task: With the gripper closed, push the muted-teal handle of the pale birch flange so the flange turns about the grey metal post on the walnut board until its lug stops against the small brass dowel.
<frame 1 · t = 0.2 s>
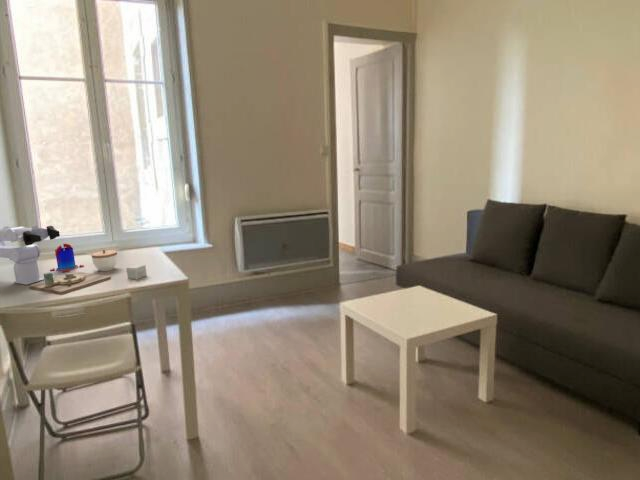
hand: (49, 235, 183), 21 cm above the table, tool horizontal, fingers open, 7 cm apart
lidded jar: (106, 269, 212), on the table
small box: (137, 277, 197), on the table
post board: (70, 283, 191), on the table
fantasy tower: (67, 269, 216), on the table
flange: (64, 275, 189), point 4 cm above the table, hinge at 0.0°
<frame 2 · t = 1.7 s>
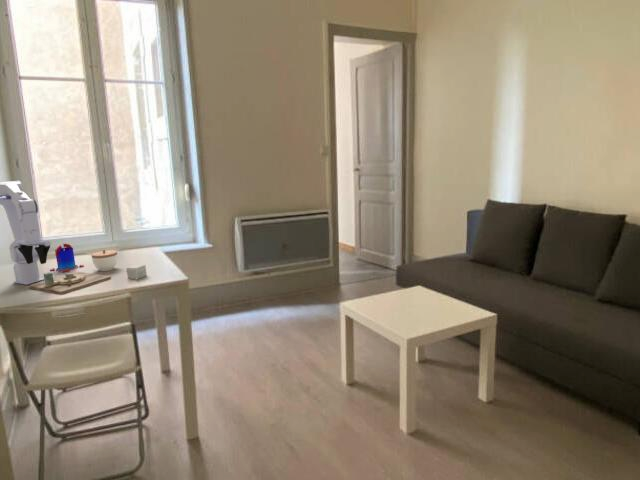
hand: (36, 263, 184), 10 cm above the table, tool pointing down, fingers open, 6 cm apart
nothing on the table moved.
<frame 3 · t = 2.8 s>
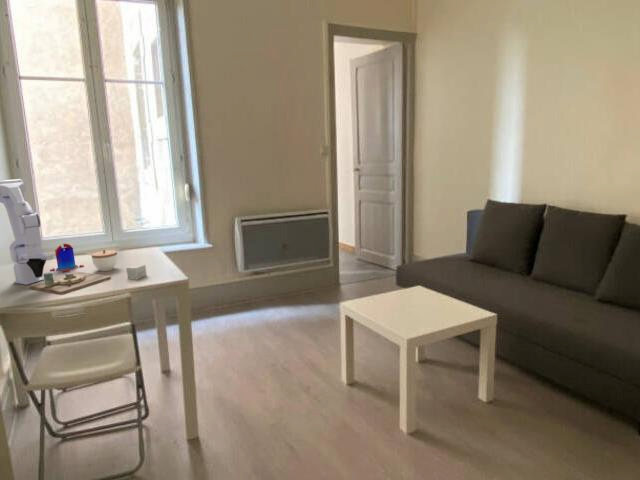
hand: (39, 276, 185), 5 cm above the table, tool pointing down, fingers closed
nothing on the table moved.
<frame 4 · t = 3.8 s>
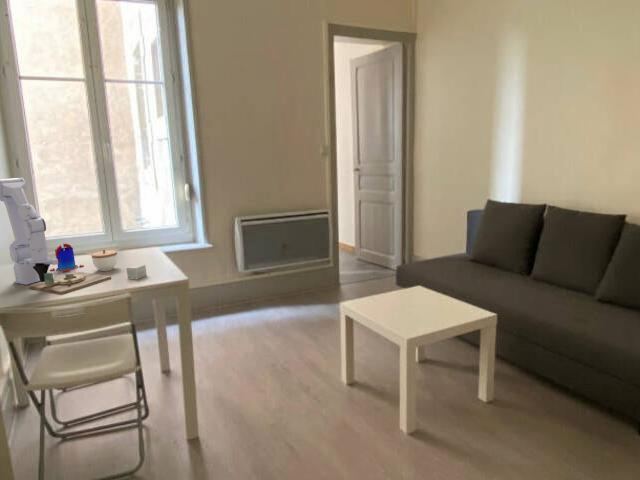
hand: (44, 281, 185), 3 cm above the table, tool pointing down, fingers closed, pressing on flange
flange: (64, 275, 189), point 4 cm above the table, hinge at 0.8°, touching gripper
everything else where it was.
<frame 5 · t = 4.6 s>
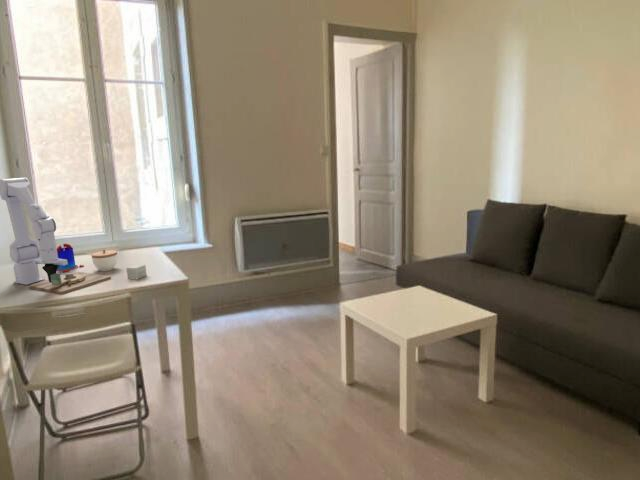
hand: (53, 281, 184), 3 cm above the table, tool pointing down, fingers closed, pressing on flange
flange: (66, 275, 189), point 4 cm above the table, hinge at 30.3°, touching gripper
everything else where it was.
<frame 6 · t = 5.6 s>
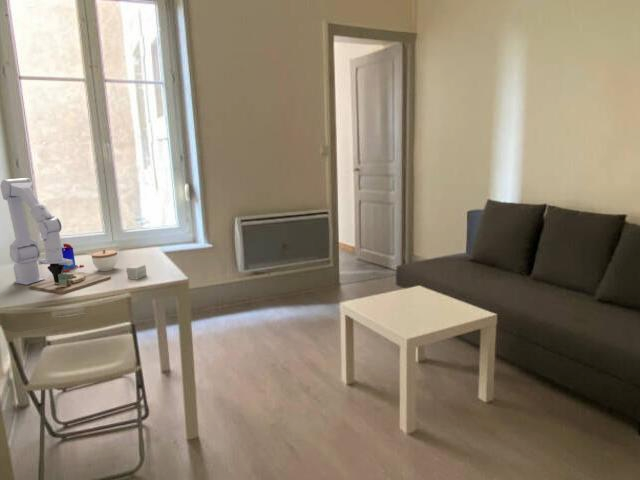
hand: (58, 281, 184), 3 cm above the table, tool pointing down, fingers closed
flange: (67, 275, 189), point 4 cm above the table, hinge at 49.8°, touching gripper, post board
everything else where it was.
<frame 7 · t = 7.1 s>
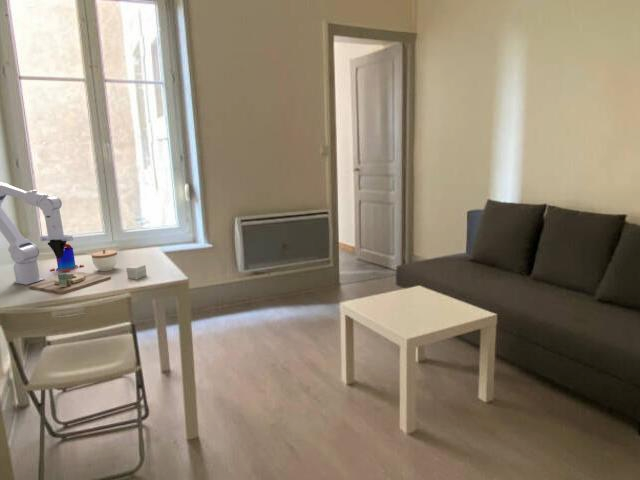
hand: (59, 257, 193), 10 cm above the table, tool pointing down, fingers closed
flange: (67, 275, 189), point 4 cm above the table, hinge at 49.7°
everything else where it was.
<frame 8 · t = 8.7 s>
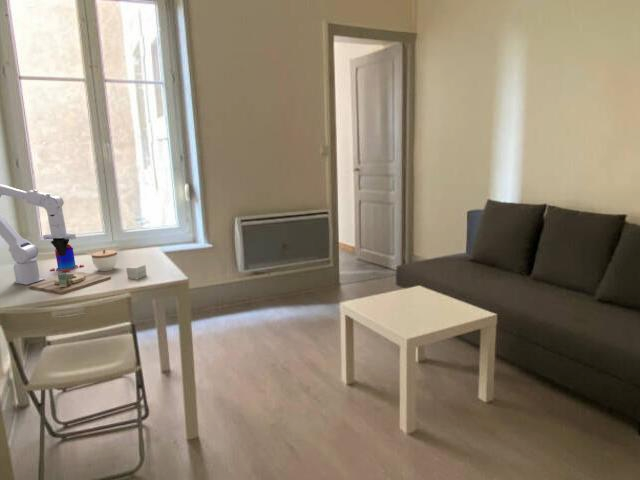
hand: (62, 255, 195), 10 cm above the table, tool pointing down, fingers closed
nothing on the table moved.
at the end: flange at +50° (first picture: +0°); the gripper is holding nothing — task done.
